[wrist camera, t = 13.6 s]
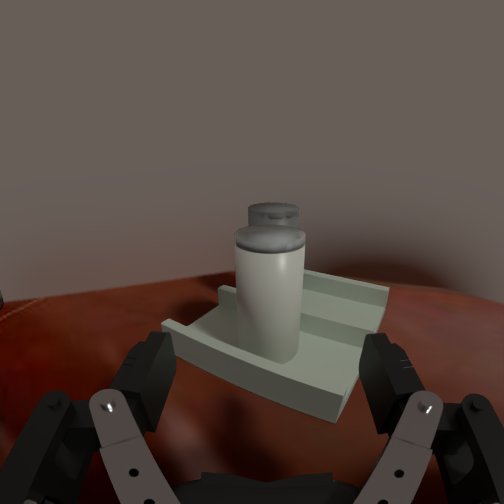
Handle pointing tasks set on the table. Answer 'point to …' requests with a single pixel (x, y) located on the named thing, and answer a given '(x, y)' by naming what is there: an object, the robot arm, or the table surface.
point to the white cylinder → (269, 289)
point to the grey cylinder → (273, 214)
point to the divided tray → (309, 346)
